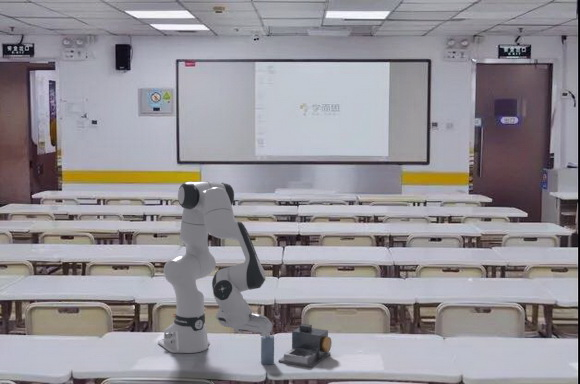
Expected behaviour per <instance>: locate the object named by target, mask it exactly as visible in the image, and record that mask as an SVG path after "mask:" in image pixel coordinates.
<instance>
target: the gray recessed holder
mask: <svg viewBox="0 0 580 384" xmlns="http://www.w3.org/2000/svg"><path fill="white" fill-rule="evenodd" d="M331 348H332V338H331V337H330V336H329V330H327V329H322V328H321V329H320V328H316V327H313V326H312V324H308V323H307V324H306V323H301V324H300V325H299V327H297V328H295V329H294V330H292V332H291V349H289V351H287V352H285V353H283V357H281V358H280V359H278V363H281V362H284V363H283V364H287V363H289V364H288V365H293V366H299V367H305V368H313V367H315V366H316V365H317V364H319V363H321V362H322V361H323V360H324V359H326V358H328V357H329V356H331Z"/></svg>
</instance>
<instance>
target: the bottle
mask: <svg viewBox="0 0 580 384" xmlns="http://www.w3.org/2000/svg"><path fill="white" fill-rule="evenodd" d="M273 363H274V364H275V337H274V336H273V335H271V332H270V333H268V334H267V333H266V334H265V336H260V364H261V365H263V366H272V365H274V364H273ZM271 364H272V365H271Z"/></svg>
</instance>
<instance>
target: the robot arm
mask: <svg viewBox="0 0 580 384" xmlns="http://www.w3.org/2000/svg"><path fill="white" fill-rule="evenodd" d="M177 199H178V203H179V205H180V206H181V208H183V210H182V215H181V222H180V233H179V239H180V241H181V242H182V243H183V244H184V245H185V254H183V255H177V256H175V257H173V258H171V259H169V260H168V261H166V262H165V264H164V265H163V276H164V278H165V280H166V281H167V282H168V283H169V284H170V285H171V286H172V287H173V290H174V293H175V298H176V299H175V301H176V303H175V304H176V305H175V306H176V313H174V314H173V315H172V318H173V319H174V320H173V323H171V324H170V325H169V326H168V327H166V328H165V329H164V332H163V333H164V334H163V338H161V339H159V340H158V341H157V343H158V345H160V346H161V348H164V349H166V350H167V351H168V352H169V353H175V354H179V353H181V354H193V353H194V354H196V353H199V352H204V351H206V350H207V349H208V348H209V345H210V340H208V339H209V338H208V330H207V329H208V328H207V325H206V324H205V323H206V314H205V296H204V294H203V292H201V291H200V290H199V289H198V286H197V282H196V281H197V280H200V279H203V278H206V277H208V276H210V275H211V274H212V273H213V272H214V271H215V269H216V265H217V264H216V259H215V257H214V255H213V254H212V253H211V252H210V249H209V244H208V243H209V241H208V238H209V235H211V236H212V237H214V238H216V239H221V240H229V241H230V240H232V241H236V242H239V244H240V248H241V250H242V253H243V255H244V258H245V260H244V262H243V263H239V264H236V265H231V266H228V267H224V268H220V269H218V270H217V271H216V272H215V274H214V275H213V277H212V283H211V285H212V294H213V297H214V299H215V302H216V304H217V306H218V310H217V312H216V316H215V318H216V320H217V322H219V324H220V326H222V327H225V328H231V329H233V330H236V332H238V333H241V334H242V333H244V331H249V332H255V333H259V335H260V337H263V336H265V334H266V333H267V334H268V333H270V334H271V331H272V329H273V325H274V324H273V323H272V322H271V321H270V319H269V318H268V316H265V315H263V314H259V313H253V310H252V308H251V307H250V305H249V304H248V302H247V300H246V299H244V296H243V294H242V292H245V291H248V290H255V289H257V290H258V289H260V288H261V287H262V286H263V285H264V283H265V281H266V272H265V269H264V267H263V266H262V264H261V262H260V259H259V257H258V255H257V252H256V249H255V247H254V244H253V241H252V239H251V236H250V235H249V231H248V229H247V228H246V226H245V224H243V223H244V222H242V221H238V220H237V219H236V217H235V215H234V209H233V204H234V201H235V192H234V188H233V187H232V185H231V184H229V183H226V182H225V183H224V182H215V181H196V182H195V181H194V182H193V181H188V182H184V183H182V184H180V187H179V188H178V193H177Z"/></svg>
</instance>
